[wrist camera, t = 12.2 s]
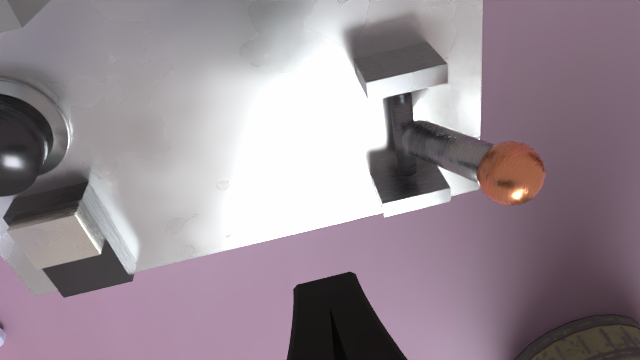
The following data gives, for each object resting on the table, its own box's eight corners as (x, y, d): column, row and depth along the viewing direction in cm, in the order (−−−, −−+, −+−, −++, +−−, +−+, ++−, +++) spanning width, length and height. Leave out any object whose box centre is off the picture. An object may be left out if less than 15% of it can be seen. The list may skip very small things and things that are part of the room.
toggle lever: (382, 179, 17) (518, 246, 14) (372, 98, 15) (526, 153, 12) (416, 154, 18) (552, 211, 14) (410, 75, 16) (565, 118, 13)
